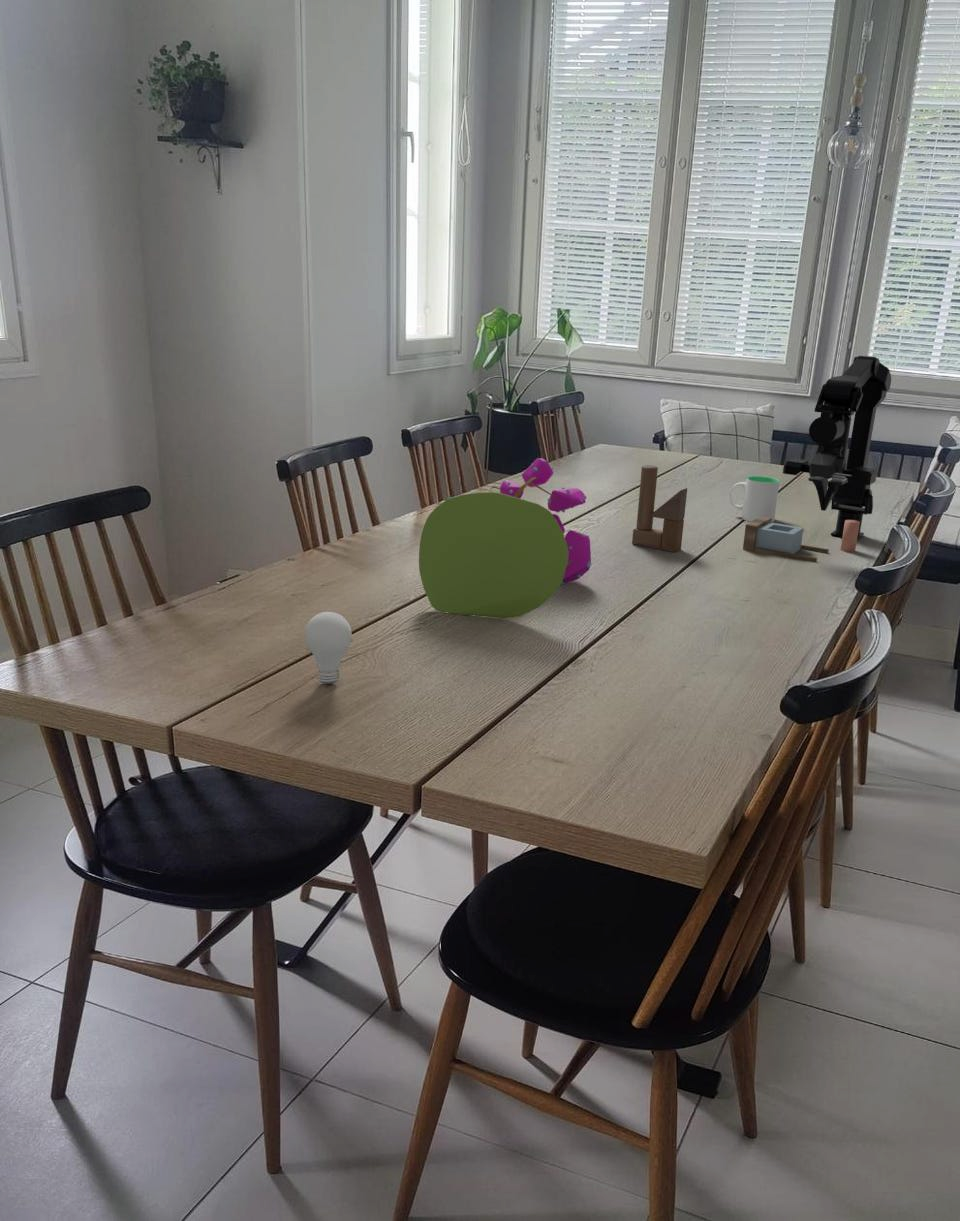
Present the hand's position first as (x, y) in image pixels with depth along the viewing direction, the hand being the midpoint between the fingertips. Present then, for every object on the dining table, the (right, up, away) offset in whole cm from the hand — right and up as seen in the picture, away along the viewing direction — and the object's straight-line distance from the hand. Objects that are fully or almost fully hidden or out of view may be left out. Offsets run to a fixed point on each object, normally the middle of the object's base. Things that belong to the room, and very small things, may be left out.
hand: (823, 510), depth 222 cm
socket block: (-8, -8, +8) cm, 14 cm away
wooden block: (-36, -8, +7) cm, 37 cm away
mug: (-6, +2, +39) cm, 39 cm away
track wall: (-6, -9, +7) cm, 13 cm away
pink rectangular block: (+9, -9, +10) cm, 16 cm away
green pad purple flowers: (-70, -18, -28) cm, 77 cm away
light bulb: (-98, -33, -75) cm, 128 cm away
